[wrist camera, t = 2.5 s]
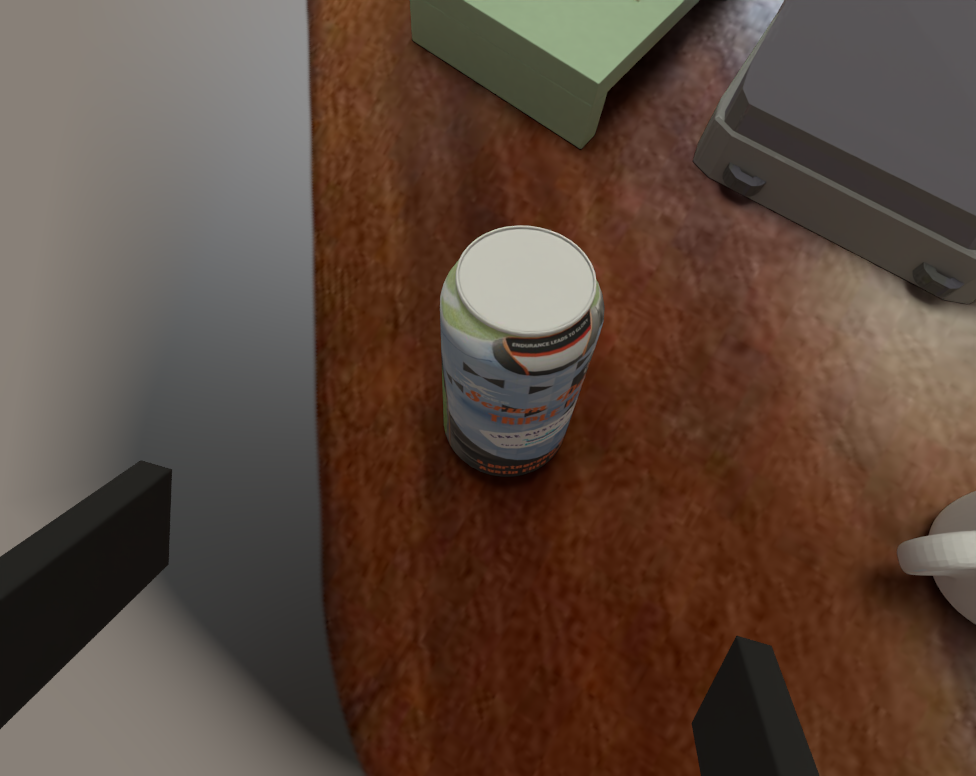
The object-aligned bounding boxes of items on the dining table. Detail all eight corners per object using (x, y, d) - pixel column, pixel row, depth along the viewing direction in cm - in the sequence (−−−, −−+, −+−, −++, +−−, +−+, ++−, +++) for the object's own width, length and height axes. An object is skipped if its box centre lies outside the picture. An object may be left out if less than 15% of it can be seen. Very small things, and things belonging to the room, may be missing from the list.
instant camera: (1078, 147, 41) (1398, -100, 27) (945, 350, 35) (1277, 161, 21) (809, -11, 46) (967, -294, 32) (646, 143, 39) (755, -128, 25)
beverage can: (460, 497, 30) (468, 416, 19) (425, 364, 32) (414, 222, 21) (581, 466, 31) (656, 371, 20) (538, 338, 33) (583, 190, 22)
